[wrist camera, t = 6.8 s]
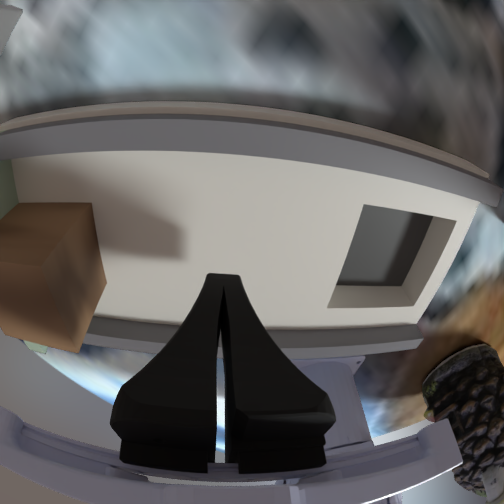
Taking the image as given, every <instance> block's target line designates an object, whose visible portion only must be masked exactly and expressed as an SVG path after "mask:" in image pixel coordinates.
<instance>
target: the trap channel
mask: <svg viewBox="0 0 504 504" xmlns="http://www.w3.org/2000/svg"><path fill="white" fill-rule="evenodd" d="M488 177H489V174H488V173H486V172H485V171H483V170H482V169H480V168H478V167H477V166H475V165H473V164H472V163H470V162H468V161H467V160H465V159H462V158H460V157H457V156H455V155H453V154H450V153H447V152H445V151H442V150H440V149H437V148H434V147H431V146H429V145H426V144H423V143H420V142H417V141H414V140H411V139H408V138H405V137H402V136H398V135H395V134H392V133H388V132H385V131H381V130H378V129H374V128H370V127H367V126H363V125H359V124H355V123H351V122H346V121H342V120H337V119H333V118H328V117H323V116H318V115H313V114H307V113H301V112H295V111H289V110H282V109H275V108H268V107H259V106H250V105H240V104H229V103H214V102H192V101H144V102H123V103H109V104H97V105H88V106H79V107H72V108H65V109H58V110H52V111H46V112H41V113H36V114H31V115H26V116H22V117H17V118H14V119H12V120H9V121H7V122H4V123H2V124H0V220H1V219H2V218H3V217H4V216H5V215H6V214H7V213H8V212H9V211H10V210H11V209H12V208H14V207H15V206H16V205H17V204H18V203H34V202H86V203H92V208H93V215H94V221H95V227H96V233H97V238H98V244H99V249H100V254H101V258H102V263H103V268H104V272H105V276H106V280H107V284H106V286H105V289H104V291H103V293H102V296H101V298H100V300H99V302H98V305H97V307H96V310H95V312H94V314H93V317H92V319H91V322H90V324H89V327H88V329H87V332H86V335H85V337H84V340H83V343H84V344H90V345H96V346H102V347H108V348H115V349H121V350H129V351H137V352H145V353H154V354H158V353H159V352H160V351H161V350H162V349H163V347H164V346H165V345H166V344H167V343H168V342H169V340H170V339H171V338H172V337H173V335H174V334H175V333H176V331H177V330H178V329H179V327H180V326H181V324H182V323H183V321H184V320H185V318H186V317H187V315H188V313H189V312H190V310H191V309H192V307H193V305H194V303H195V301H196V299H197V298H198V296H199V294H200V291H201V289H202V287H203V284H204V282H205V279H206V275H207V274H208V273H219V274H236V275H239V276H240V277H241V280H242V283H243V286H244V289H245V291H246V294H247V296H248V298H249V301H250V303H251V305H252V306H253V308H254V310H255V312H256V314H257V316H258V318H259V319H260V321H261V323H262V324H263V326H264V327H265V329H266V330H267V332H268V333H269V335H270V336H271V338H272V339H273V340H274V342H275V343H276V344H277V346H278V347H279V348H280V349H281V350H282V352H283V353H284V354H285V355H286V356H287V357H288V358H289V359H309V358H329V357H344V356H356V355H367V354H377V353H385V352H394V351H401V350H408V349H415V348H417V347H418V346H419V344H420V343H421V342H422V340H423V339H424V338H423V336H422V334H421V332H420V330H419V328H418V327H417V325H416V324H417V322H418V320H419V319H420V317H421V316H422V314H423V313H424V311H425V310H426V308H427V306H428V305H429V303H430V301H431V300H432V298H433V296H434V295H435V293H436V291H437V290H438V288H439V286H440V284H441V283H442V281H443V279H444V277H445V275H446V274H447V272H448V270H449V268H450V266H451V264H452V262H453V260H454V258H455V256H456V254H457V252H458V250H459V248H460V246H461V244H462V242H463V240H464V238H465V235H466V233H467V231H468V229H469V226H470V224H471V222H472V220H473V217H474V215H475V212H476V210H477V207H478V205H479V202H482V203H485V204H488V205H491V206H494V207H496V208H497V206H498V203H499V201H500V198H501V195H502V193H503V190H504V189H502V188H501V187H499V186H498V185H496V184H495V183H494V182H492V181H491V180H489V179H488ZM23 341H24V342H25V344H26V345H27V347H28V348H29V350H32V351H36V352H40V353H44V354H45V353H46V351H47V349H48V346H44V345H40V344H36V343H32V342H29V341H25V340H23ZM217 358H222V359H223V352H222V341H221V330H220V338H219V346H218V354H217Z"/></svg>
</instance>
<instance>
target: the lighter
mask: <svg viewBox="0 0 504 504" xmlns="http://www.w3.org/2000/svg"><path fill="white" fill-rule="evenodd" d="M22 13H23V9H20V8H17V7H14V6H12V5H0V57H1V54H2V52H3V50H4V48H5V46H6V43H7V41H8V39H9V37H10V35H11V33H12V31H13V29H14V27H15V25H16V24H17V22H18V20H19V18H20V16H21V15H22Z"/></svg>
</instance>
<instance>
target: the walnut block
mask: <svg viewBox="0 0 504 504" xmlns="http://www.w3.org/2000/svg"><path fill="white" fill-rule="evenodd" d="M106 284H107V280H106V276H105V272H104V268H103V263H102V258H101V254H100V249H99V244H98V238H97V233H96V227H95V221H94V215H93V208H92V203H86V202H34V203H18V204H17V205H16V206H15V207H14V208H12V209H11V210H10V211H9V212H8V213H7V214H6V215H5V216H4V217H3V218H2V219H1V220H0V327H1V329H2V331H3V332H4V334H5V335H8V336H11V337H15V338H18V339H21V340H25V341H29V342H32V343H36V344H40V345H44V346H48V347H52V348H57V349H61V350H65V351H70V352H75V353H79V351H80V348H81V345H82V343H83V340H84V337H85V335H86V332H87V329H88V327H89V324H90V322H91V319H92V317H93V314H94V312H95V310H96V307H97V305H98V302H99V300H100V298H101V296H102V293H103V291H104V289H105V286H106Z"/></svg>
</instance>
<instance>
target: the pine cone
mask: <svg viewBox="0 0 504 504" xmlns="http://www.w3.org/2000/svg"><path fill="white" fill-rule="evenodd" d="M422 392H423V398H424V401H425V403H426V404H427V409H426V411H425V413H424V417H425V418H426V419H427V420H429V421H431V422H435V423H436V422H438V421H441V420H444V419H446V418H447V419H448V420H449V423H450V425H451V428H452V431H453V433H454V436H455V439H456V442H457V444H458V447H459V450H460V453H461V456H462V459H463V463H462V464H460V465H459V466H457V467H455V468H453V469H452V472H454V478H455V481H457V483H458V484H459V485H461V486H462V487H463V488H465V489H466V490H468V491H471V490H472V491H473V492H474V493H475V494H477V495H480V496H484V497H487V501H486V504H504V366H503V365H502V363H501V361H500V359H499V356H498V354H497V351H496V350H494V349H493V348H491V347H490V346H488V345H486V344H481V345H480V344H479V345H478V346H477V345H476V346H474V345H473V346H471V347H468V348H465V349H464V350H461V351H459V352H457V353H455V354H454V355H452V356H450V357H449V358H447V359H446V360H444V361H443V362H441V364H440V365H438V366H437V367H436V369H434V370H433V371H432V372H431V373H430V374H429V375H428V377H427V378H426V379H425V381H424V382H423V384H422Z"/></svg>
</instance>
